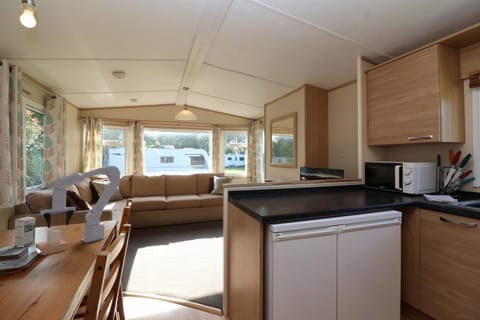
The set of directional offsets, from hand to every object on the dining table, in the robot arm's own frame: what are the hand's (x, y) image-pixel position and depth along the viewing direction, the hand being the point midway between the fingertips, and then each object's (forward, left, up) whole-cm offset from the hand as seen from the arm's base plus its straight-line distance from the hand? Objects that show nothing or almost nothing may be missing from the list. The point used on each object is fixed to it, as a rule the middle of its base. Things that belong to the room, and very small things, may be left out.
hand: (58, 226), depth 119 cm
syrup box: (+11, -12, -10) cm, 19 cm away
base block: (+4, +6, -11) cm, 13 cm away
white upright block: (+3, +7, -7) cm, 10 cm away
